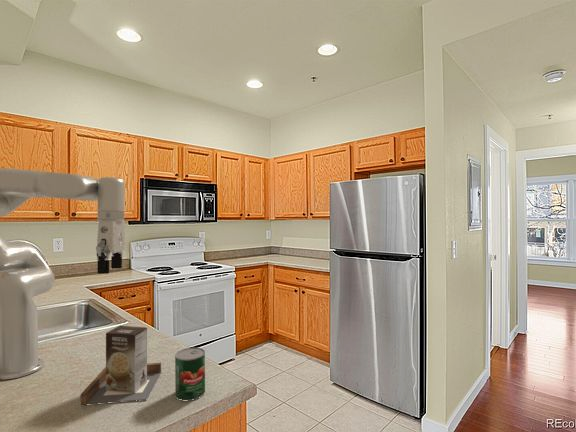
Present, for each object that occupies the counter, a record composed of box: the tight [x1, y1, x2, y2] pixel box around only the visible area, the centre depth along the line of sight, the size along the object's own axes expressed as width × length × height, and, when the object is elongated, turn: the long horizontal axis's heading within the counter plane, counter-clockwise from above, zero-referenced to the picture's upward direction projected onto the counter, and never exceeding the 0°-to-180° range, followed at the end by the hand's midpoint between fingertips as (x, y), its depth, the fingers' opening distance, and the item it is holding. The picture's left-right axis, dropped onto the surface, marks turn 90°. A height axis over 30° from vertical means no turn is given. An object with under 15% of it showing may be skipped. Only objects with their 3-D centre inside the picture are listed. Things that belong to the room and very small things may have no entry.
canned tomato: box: [174, 347, 206, 400], centre depth 91 cm, size 8×8×11 cm
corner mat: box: [85, 373, 161, 406], centre depth 94 cm, size 16×16×1 cm
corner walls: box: [80, 362, 162, 406], centre depth 94 cm, size 16×16×3 cm
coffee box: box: [105, 325, 148, 393], centre depth 94 cm, size 9×6×16 cm
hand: (110, 270), depth 106 cm, fingers open, 9 cm apart
